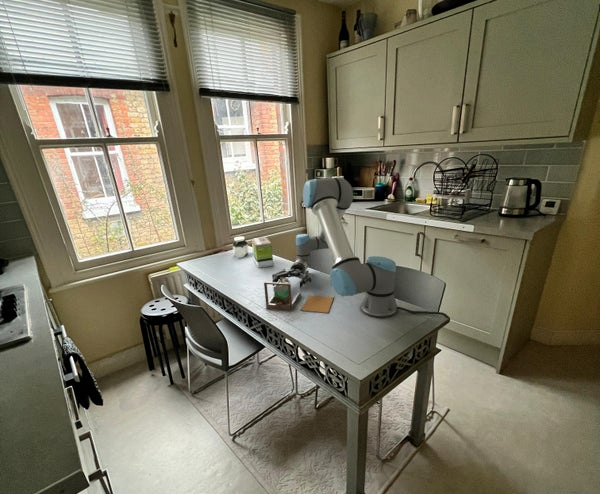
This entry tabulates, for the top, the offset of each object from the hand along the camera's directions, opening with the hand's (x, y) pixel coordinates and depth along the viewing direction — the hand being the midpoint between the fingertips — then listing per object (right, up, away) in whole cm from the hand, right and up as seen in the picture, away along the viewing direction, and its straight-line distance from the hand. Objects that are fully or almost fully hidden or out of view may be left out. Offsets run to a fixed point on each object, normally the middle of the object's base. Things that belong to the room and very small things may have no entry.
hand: (286, 284), depth 150 cm
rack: (-1, -8, -1) cm, 8 cm away
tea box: (-17, +14, +50) cm, 55 cm away
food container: (-1, -8, -1) cm, 8 cm away
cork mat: (+15, -9, -5) cm, 18 cm away
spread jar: (-34, +20, +66) cm, 77 cm away
